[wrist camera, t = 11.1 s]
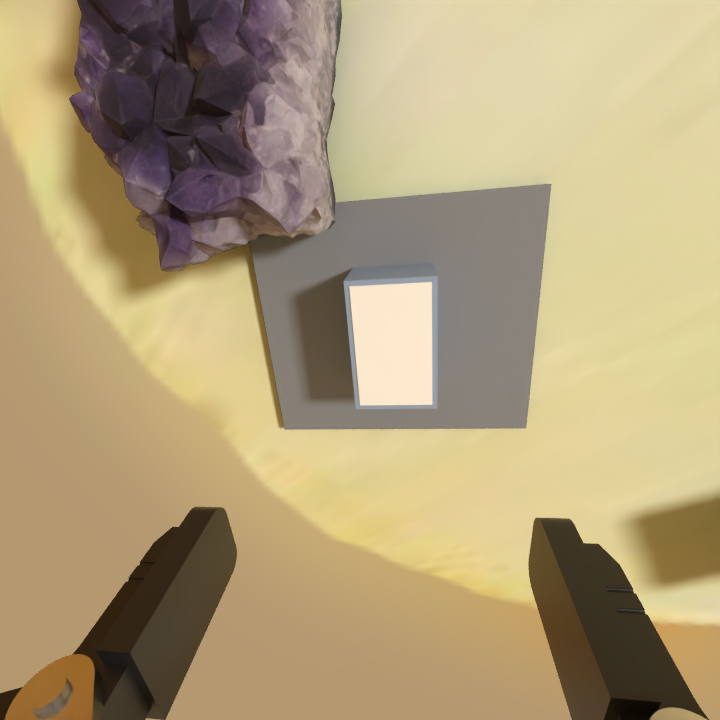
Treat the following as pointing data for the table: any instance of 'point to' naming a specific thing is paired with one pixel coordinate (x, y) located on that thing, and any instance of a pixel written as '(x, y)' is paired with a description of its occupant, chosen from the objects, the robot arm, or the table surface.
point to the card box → (393, 335)
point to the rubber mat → (455, 305)
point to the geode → (213, 115)
